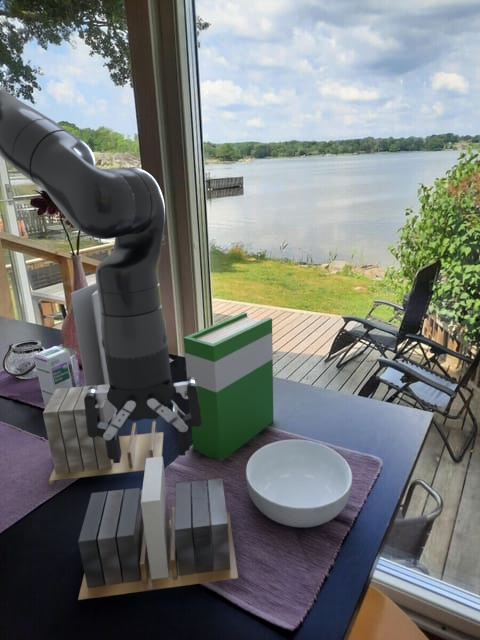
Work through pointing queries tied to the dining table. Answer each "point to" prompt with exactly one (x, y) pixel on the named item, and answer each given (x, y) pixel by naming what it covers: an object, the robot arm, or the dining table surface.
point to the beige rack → (91, 439)
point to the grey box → (90, 335)
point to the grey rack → (131, 550)
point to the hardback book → (231, 382)
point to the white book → (156, 517)
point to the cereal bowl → (298, 482)
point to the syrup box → (54, 371)
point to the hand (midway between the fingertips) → (150, 455)
